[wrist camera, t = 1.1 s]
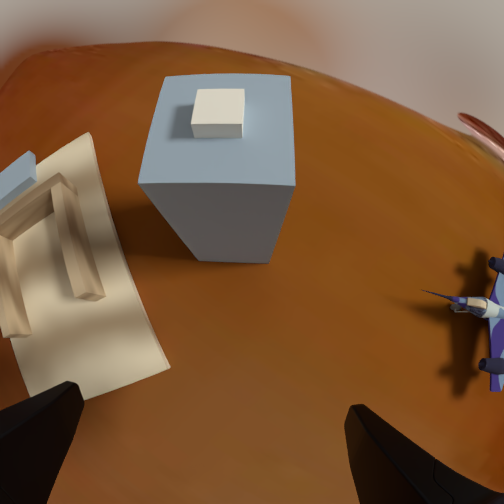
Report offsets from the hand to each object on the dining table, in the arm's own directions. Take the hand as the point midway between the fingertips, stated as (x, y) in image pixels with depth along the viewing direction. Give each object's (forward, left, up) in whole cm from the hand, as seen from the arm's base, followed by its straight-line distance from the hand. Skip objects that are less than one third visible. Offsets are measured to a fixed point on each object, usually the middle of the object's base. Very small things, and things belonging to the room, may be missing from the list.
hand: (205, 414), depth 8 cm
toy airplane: (-3, -22, -12) cm, 26 cm away
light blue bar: (+18, +22, -11) cm, 30 cm away
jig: (+9, +14, -12) cm, 20 cm away
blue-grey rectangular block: (+9, -2, -12) cm, 15 cm away
